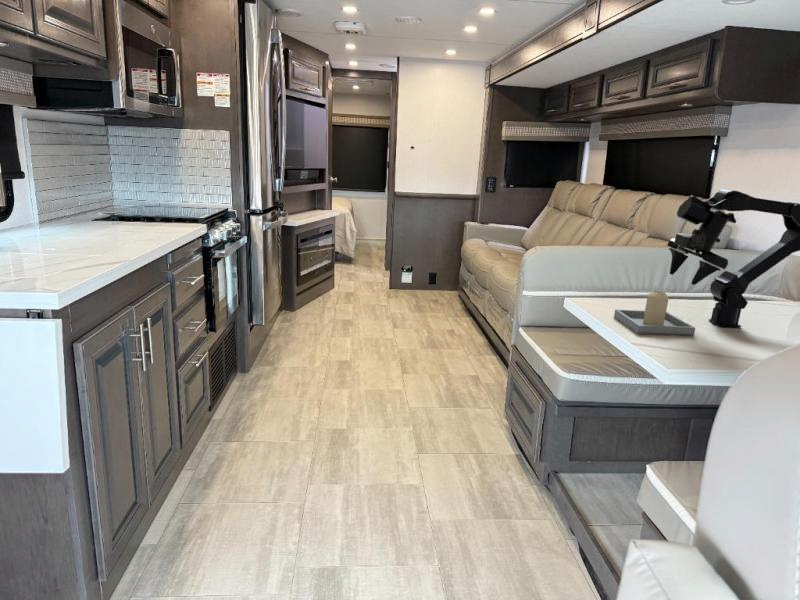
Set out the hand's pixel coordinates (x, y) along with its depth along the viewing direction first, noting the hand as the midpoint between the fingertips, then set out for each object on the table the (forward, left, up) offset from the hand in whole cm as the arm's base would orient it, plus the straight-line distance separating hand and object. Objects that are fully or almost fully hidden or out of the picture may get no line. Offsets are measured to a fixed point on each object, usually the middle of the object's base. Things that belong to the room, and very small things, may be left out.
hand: (681, 279), depth 164 cm
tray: (+10, +6, -13) cm, 17 cm away
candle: (+10, +6, -13) cm, 17 cm away
